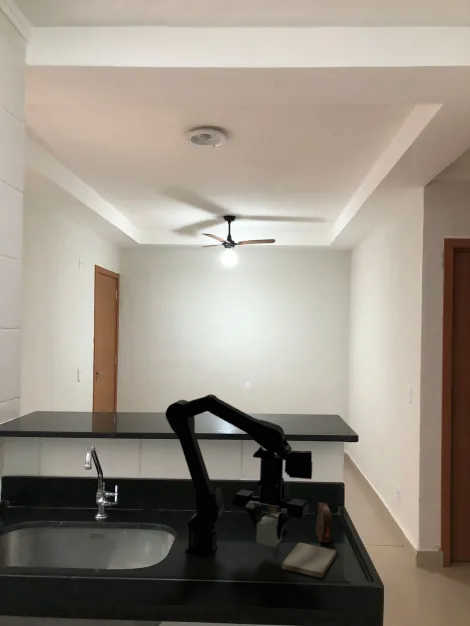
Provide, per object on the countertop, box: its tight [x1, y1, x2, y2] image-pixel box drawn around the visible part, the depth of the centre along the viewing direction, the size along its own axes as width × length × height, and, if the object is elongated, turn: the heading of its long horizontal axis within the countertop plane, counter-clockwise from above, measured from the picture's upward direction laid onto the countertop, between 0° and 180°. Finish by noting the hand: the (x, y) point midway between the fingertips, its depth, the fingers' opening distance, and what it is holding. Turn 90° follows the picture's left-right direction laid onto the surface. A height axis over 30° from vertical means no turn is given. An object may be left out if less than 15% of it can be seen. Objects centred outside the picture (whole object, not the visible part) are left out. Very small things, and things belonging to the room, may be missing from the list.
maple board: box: [281, 542, 337, 579], centre depth 135 cm, size 10×14×1 cm
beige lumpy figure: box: [264, 506, 287, 529], centre depth 156 cm, size 9×6×10 cm
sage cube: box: [255, 516, 283, 548], centre depth 136 cm, size 5×5×5 cm
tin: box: [314, 501, 333, 544], centre depth 151 cm, size 15×3×8 cm, turn 178°
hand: (269, 537), depth 136 cm, fingers closed on sage cube, 5 cm apart
